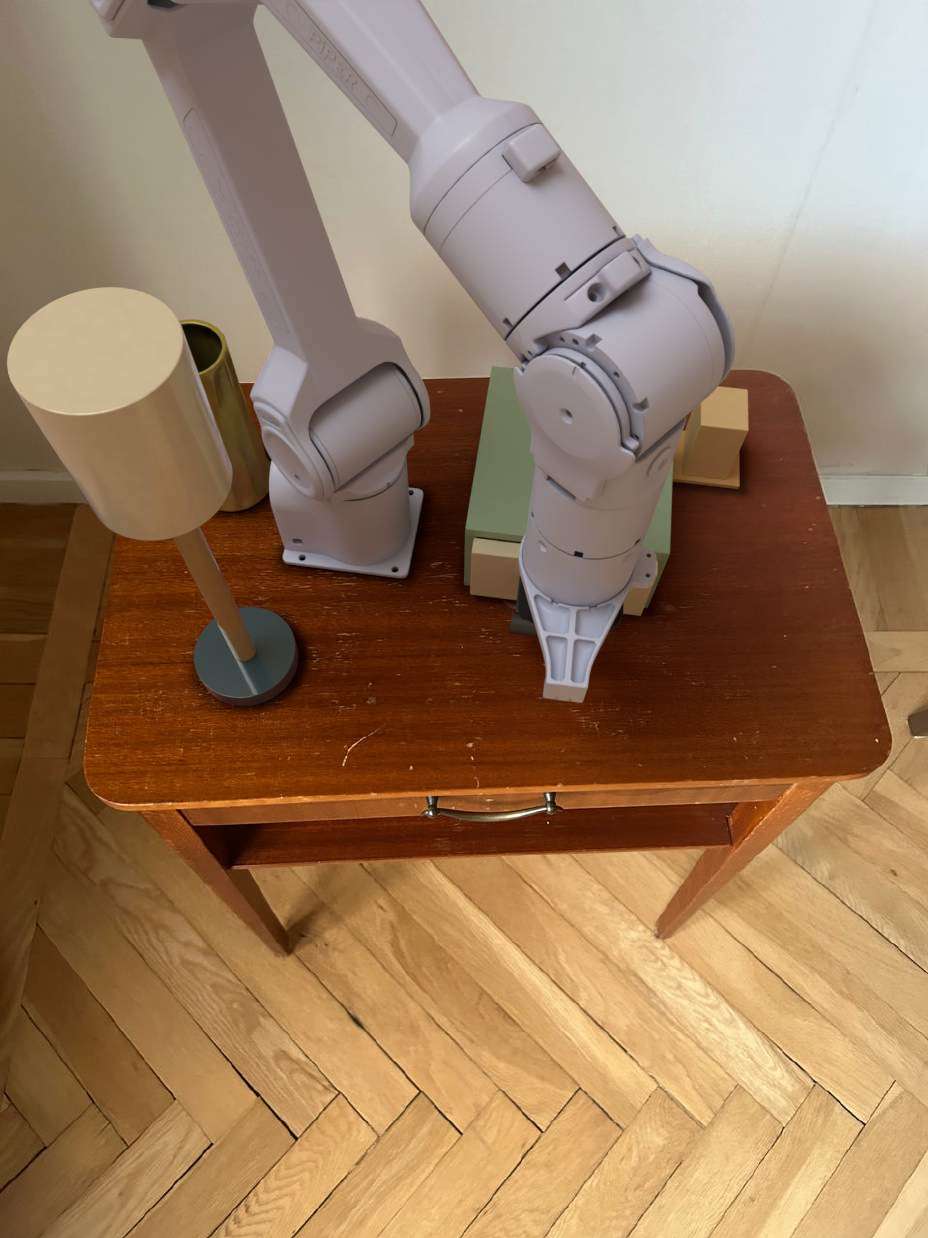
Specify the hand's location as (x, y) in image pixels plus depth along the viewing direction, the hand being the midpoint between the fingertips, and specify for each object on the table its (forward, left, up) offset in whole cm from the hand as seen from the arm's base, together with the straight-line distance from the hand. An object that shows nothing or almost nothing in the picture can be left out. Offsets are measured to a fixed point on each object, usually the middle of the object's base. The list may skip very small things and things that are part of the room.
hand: (558, 636), depth 53 cm
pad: (+11, +22, -9) cm, 26 cm away
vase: (-26, +14, -9) cm, 31 cm away
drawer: (0, +11, -8) cm, 14 cm away
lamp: (-21, -1, -9) cm, 23 cm away
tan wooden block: (+11, +22, -8) cm, 26 cm away
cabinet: (0, +15, -9) cm, 17 cm away
